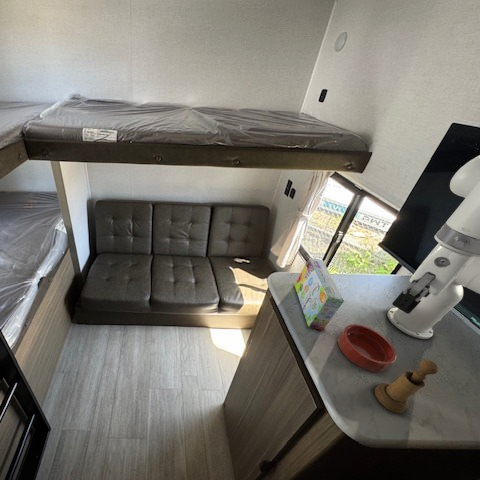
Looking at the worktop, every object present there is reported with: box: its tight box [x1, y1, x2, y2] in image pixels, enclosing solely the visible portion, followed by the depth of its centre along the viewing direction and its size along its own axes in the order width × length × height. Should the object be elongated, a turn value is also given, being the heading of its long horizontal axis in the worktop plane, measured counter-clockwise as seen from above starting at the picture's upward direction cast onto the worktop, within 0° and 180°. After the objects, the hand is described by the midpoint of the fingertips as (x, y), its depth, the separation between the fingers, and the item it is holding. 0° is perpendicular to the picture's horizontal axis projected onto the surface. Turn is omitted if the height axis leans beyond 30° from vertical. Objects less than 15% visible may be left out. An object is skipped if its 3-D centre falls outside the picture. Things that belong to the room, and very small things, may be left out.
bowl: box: [337, 323, 397, 373], centre depth 79 cm, size 13×13×5 cm
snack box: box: [294, 257, 345, 331], centre depth 91 cm, size 21×6×15 cm, turn 168°
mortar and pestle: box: [374, 359, 440, 414], centre depth 64 cm, size 7×6×18 cm
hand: (409, 300), depth 57 cm, fingers open, 9 cm apart
